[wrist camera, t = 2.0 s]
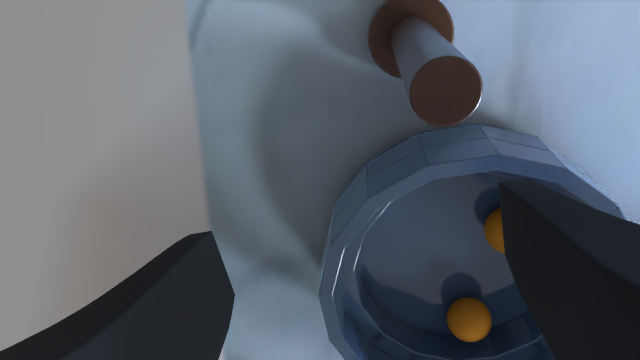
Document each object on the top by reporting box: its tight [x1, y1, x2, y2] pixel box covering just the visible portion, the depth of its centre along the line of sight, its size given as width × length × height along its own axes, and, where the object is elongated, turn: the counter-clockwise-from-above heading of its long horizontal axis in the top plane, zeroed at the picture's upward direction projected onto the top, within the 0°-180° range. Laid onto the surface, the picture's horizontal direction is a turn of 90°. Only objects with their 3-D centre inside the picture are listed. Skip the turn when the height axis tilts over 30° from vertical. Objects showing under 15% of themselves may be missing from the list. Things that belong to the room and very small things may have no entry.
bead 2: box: [484, 208, 505, 254], centre depth 21 cm, size 2×2×2 cm
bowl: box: [318, 124, 626, 360], centre depth 21 cm, size 12×12×4 cm
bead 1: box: [447, 297, 492, 342], centre depth 23 cm, size 2×2×2 cm
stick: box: [368, 0, 483, 126], centre depth 15 cm, size 3×3×9 cm
